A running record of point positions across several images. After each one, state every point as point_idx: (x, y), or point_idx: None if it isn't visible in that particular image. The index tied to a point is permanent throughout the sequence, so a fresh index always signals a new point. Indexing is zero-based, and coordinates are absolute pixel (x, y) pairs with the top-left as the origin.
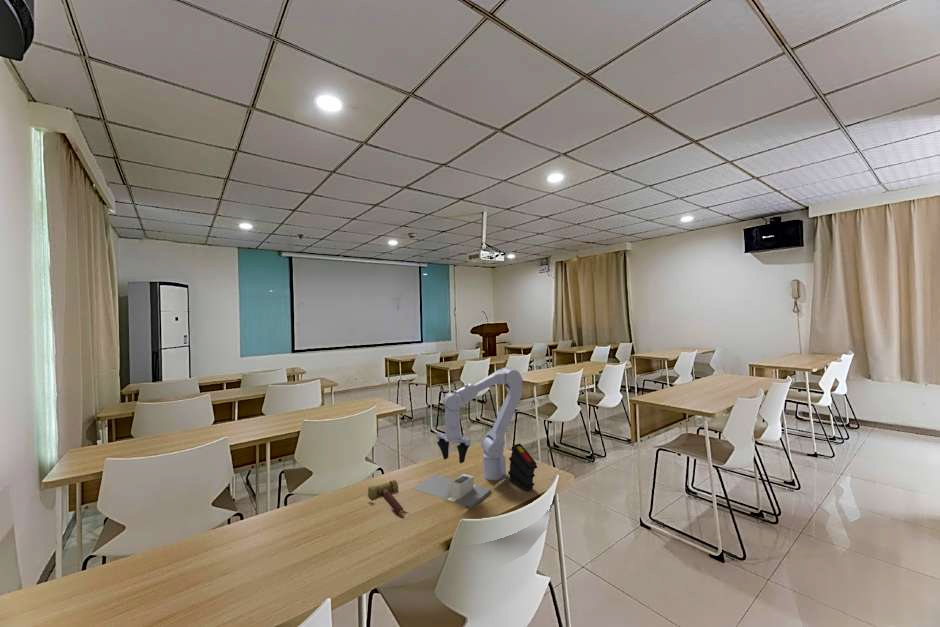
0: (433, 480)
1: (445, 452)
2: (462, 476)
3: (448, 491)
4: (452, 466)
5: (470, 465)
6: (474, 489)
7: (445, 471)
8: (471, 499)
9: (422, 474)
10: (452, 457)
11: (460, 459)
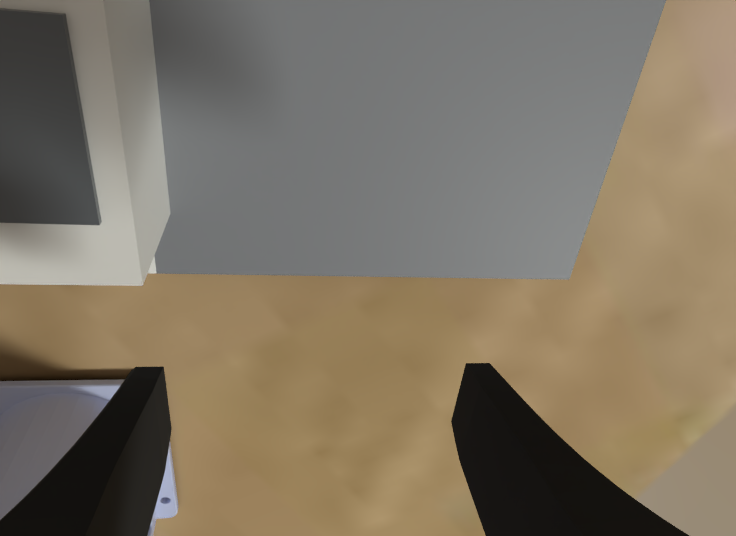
0: (533, 168)
1: (500, 467)
2: (82, 207)
3: (235, 14)
4: None
5: (378, 505)
6: None
7: (516, 370)
8: None
9: (692, 250)
10: None
11: (112, 411)
